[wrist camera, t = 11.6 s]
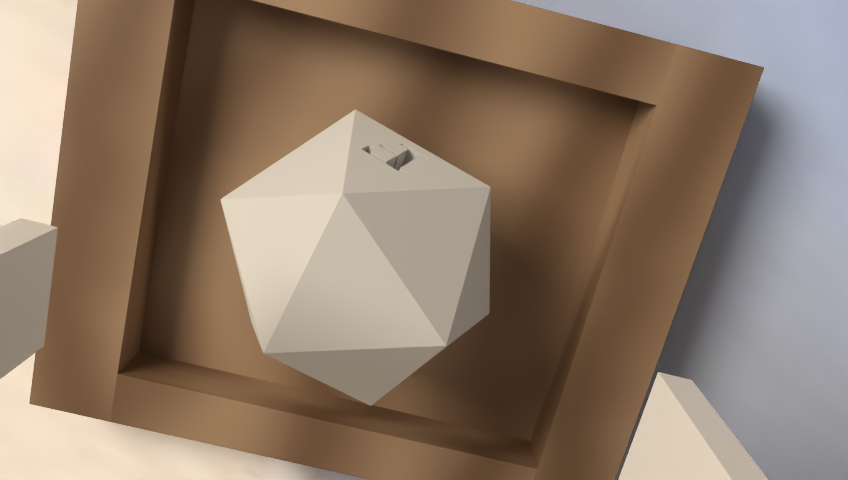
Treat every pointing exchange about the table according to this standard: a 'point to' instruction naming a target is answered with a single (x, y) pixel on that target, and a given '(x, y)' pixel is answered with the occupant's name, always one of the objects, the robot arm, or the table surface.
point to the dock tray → (435, 132)
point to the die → (361, 256)
